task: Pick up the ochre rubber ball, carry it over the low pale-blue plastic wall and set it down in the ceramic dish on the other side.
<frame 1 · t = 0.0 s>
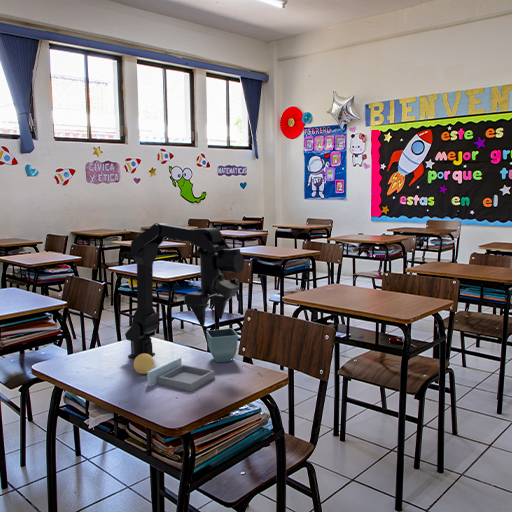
hand: (211, 322, 148), 15 cm above the table, fingers open, 9 cm apart
dish: (186, 380, 140), on the table
wall: (165, 377, 143), on the table
flower pot: (222, 360, 158), on the table
ball: (144, 373, 147), on the table
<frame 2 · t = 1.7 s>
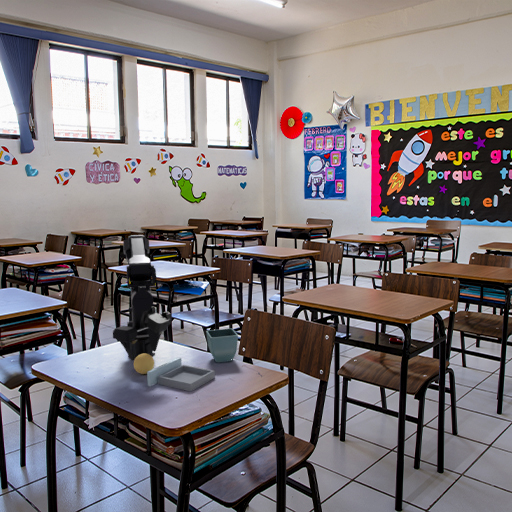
hand: (143, 355, 146), 5 cm above the table, fingers open, 9 cm apart
nothing on the table moved.
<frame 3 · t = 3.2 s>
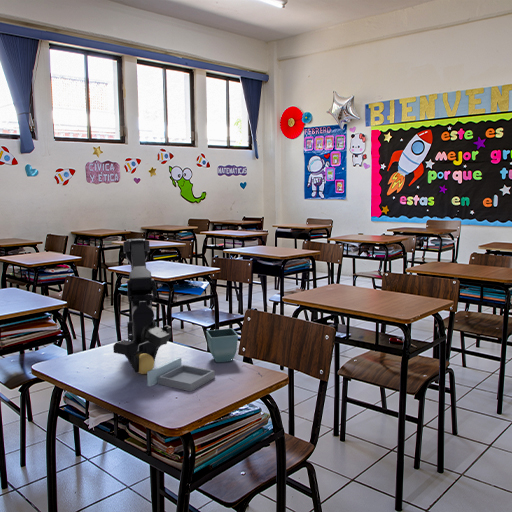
hand: (144, 369, 147), 1 cm above the table, fingers closed on ball, 6 cm apart
ball: (144, 373, 147), on the table, touching gripper
everything else where it was.
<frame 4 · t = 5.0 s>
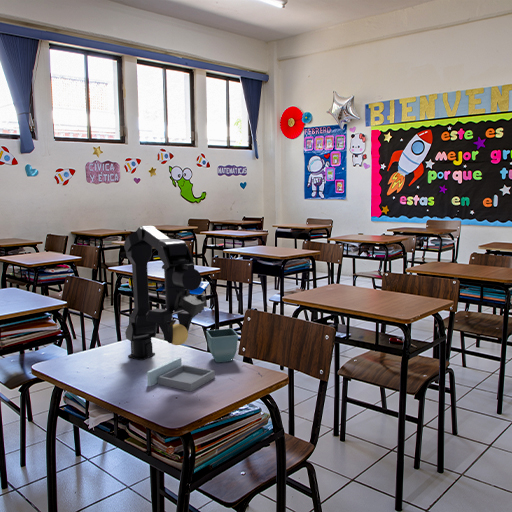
hand: (177, 340, 140), 12 cm above the table, fingers closed on ball, 6 cm apart
ball: (177, 344, 140), point 10 cm above the table, touching gripper
everything else where it was.
when the fingers open (3 cm above the table, at t = 7.2 s): ball drops 2 cm, resting on dish.
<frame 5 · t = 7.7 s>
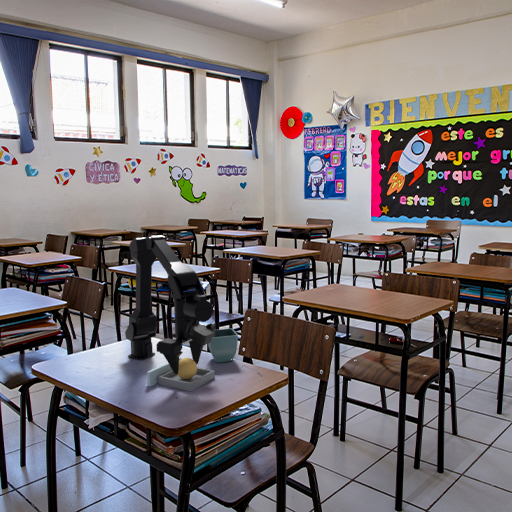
hand: (186, 368, 140), 3 cm above the table, fingers open, 9 cm apart
ball: (186, 378, 140), point 1 cm above the table, touching dish
everything else where it was.
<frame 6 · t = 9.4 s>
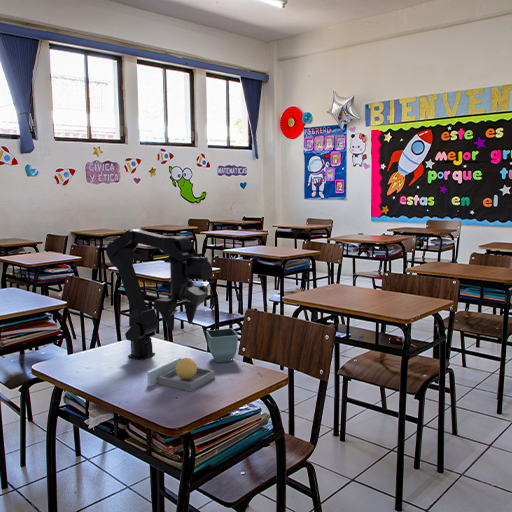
hand: (181, 327, 153), 12 cm above the table, fingers open, 9 cm apart
nothing on the table moved.
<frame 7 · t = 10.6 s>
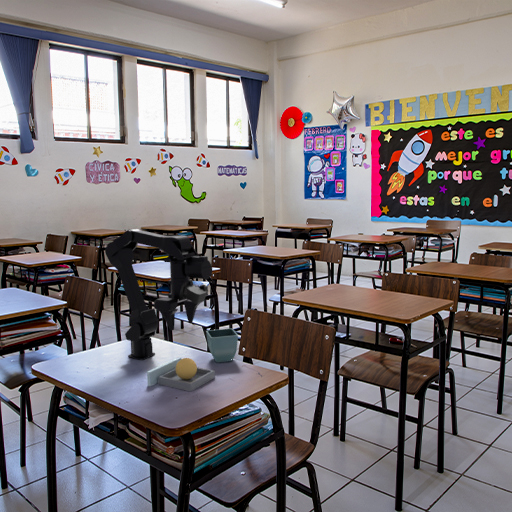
hand: (181, 326, 153), 12 cm above the table, fingers open, 9 cm apart
nothing on the table moved.
at the end: ball inside the target area on the dish (0.0 cm from its centre), point 0.6 cm above the dish's base; the gripper is holding nothing; ball moved 15.0 cm from its start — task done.
